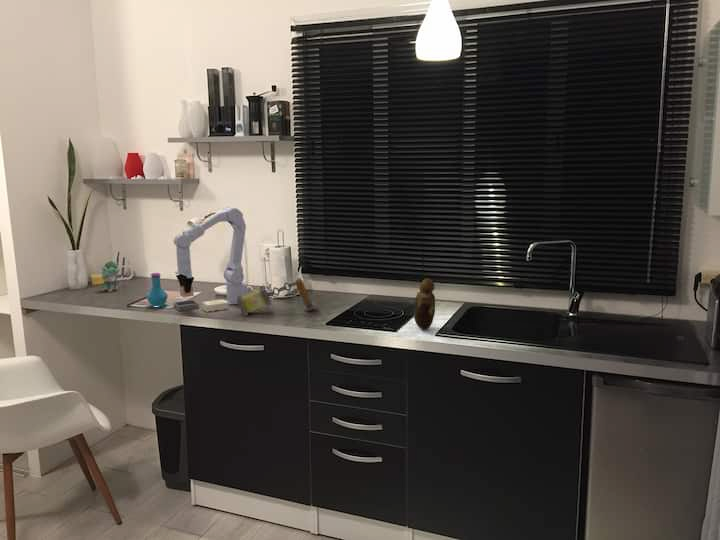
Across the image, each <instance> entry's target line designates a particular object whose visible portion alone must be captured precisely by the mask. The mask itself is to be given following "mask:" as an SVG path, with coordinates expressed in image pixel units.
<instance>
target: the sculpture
mask: <svg viewBox="0 0 720 540" xmlns="http://www.w3.org/2000/svg"><path fill="white" fill-rule="evenodd" d="M434 290H435V283H434V282H433V280H432V279H431V278H424V279H423V280H422V281H421V282H420V285H419V291H418V292H417V294H416V296H415V299H414V300H415V301H414V307H413V318H414V321H415V324H416V325H417V327H418V328H420V329H422V330H427V329H429V328H430V327H431V326H432V324H433V322H434V317H435V314H436V313H435V312H436V296H435V293H433V292H434Z"/></svg>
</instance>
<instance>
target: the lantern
mask: <svg viewBox="0 0 720 540" xmlns="http://www.w3.org/2000/svg"><path fill="white" fill-rule="evenodd" d="M283 284H284V285H283V286H281V287H280V288H278V287H277V286H276V287H275V286H274V287H273V290H272V291H270V292H268V291H267V290H266V287H265V285H261V286H259V289H257V290H255V291H252V292H250V293H248V294H247V295H245V296H241V295H239V296H237V302H238V306H239V309H240V311H241V313H242V315H243V316H244V317H246V316H249V313H250V312H252V311H255V310H257V309H259V308H262V307H264V306H266V307H270V306H271V305H272V301H271V299H270V297H272V296H273V295H274V296H277V297H279V295H280V292H283V291H284V290H285V291H288V292H291V288H292V287H294V286H295V287H296V288H297V290H298V292H299V295H300V297H301V299H302V301H303V304H304V306H303V308H302V309H303V311H304V312H305V313H306V312H310V311H312V310H315V309H316V308H317V307H318V306H317V304H316V302H312V300H311V298H310V295H309V294H308V292H307V289H306V287H305V286H306V285H304V282H303V280H302V278H301V277H299V278H296V279H295V280H294V282H291V283H288V282H284V283H283ZM287 285H288V288H287ZM275 290H277V293H276V292H275Z"/></svg>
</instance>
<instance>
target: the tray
mask: <svg viewBox="0 0 720 540" xmlns="http://www.w3.org/2000/svg"><path fill="white" fill-rule="evenodd" d="M173 308H175V309H176V310H177V311H178V312H183V311H188V310H194V309H199V308H200V303H198V302H197V301H196V300H194V299H189V300H182V301H175V302H173Z"/></svg>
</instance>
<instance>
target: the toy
mask: <svg viewBox="0 0 720 540" xmlns="http://www.w3.org/2000/svg"><path fill="white" fill-rule="evenodd" d="M101 269H102V271H101V277H102V280H103V284H102V285H101V290H102V292H105V291H104V290H105V287H107V291H108V293H111V292H112V291H114V290H115V289H116V290H118V288H119V285H118V281H117V280H118V275H117V273H118V272H120V268H119V267H118V264H117V263H115V262H114V261H112V260H111V261H110V260H109V261H108V262H105V264H104V266H102V267H101Z"/></svg>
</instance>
